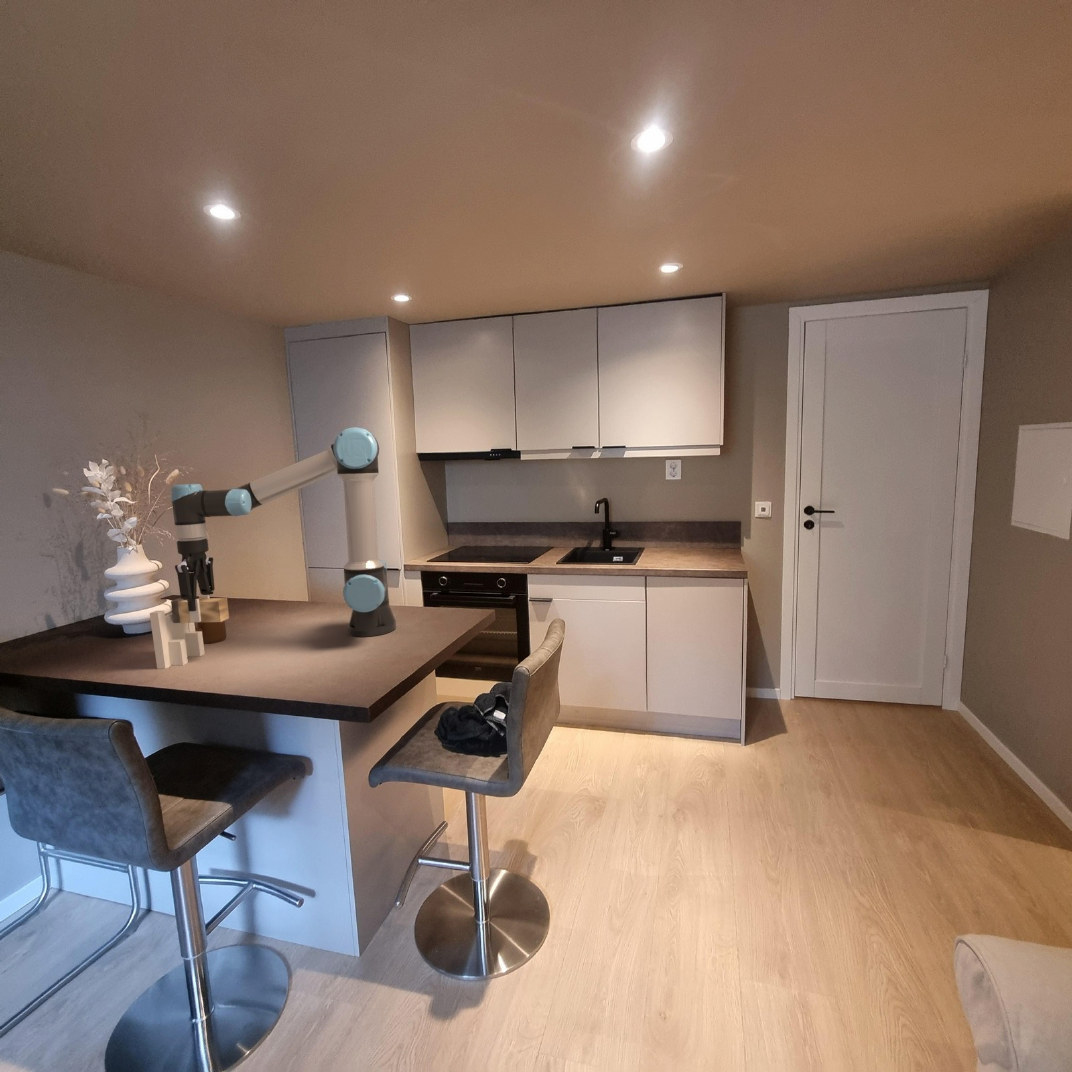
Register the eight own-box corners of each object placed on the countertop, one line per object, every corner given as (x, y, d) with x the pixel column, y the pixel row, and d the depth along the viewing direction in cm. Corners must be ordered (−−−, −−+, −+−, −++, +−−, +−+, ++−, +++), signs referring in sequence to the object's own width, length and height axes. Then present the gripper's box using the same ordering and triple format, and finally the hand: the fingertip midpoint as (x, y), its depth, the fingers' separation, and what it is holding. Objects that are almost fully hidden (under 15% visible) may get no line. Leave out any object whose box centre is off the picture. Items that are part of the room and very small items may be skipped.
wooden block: (229, 618, 164) (226, 596, 163) (220, 622, 160) (218, 600, 159) (183, 619, 165) (180, 597, 164) (173, 623, 161) (170, 601, 160)
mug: (198, 649, 174) (195, 619, 173) (181, 647, 177) (177, 618, 175) (232, 637, 185) (228, 609, 184) (215, 636, 188) (211, 608, 186)
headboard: (209, 651, 171) (203, 600, 169) (177, 668, 158) (170, 612, 155) (190, 651, 172) (183, 600, 170) (157, 668, 158) (149, 613, 156)
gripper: (198, 535, 168) (207, 611, 171) (157, 543, 151) (168, 628, 154) (223, 534, 168) (231, 611, 171) (184, 542, 151) (194, 627, 154)
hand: (201, 619), depth 163 cm, fingers closed on wooden block, 4 cm apart
